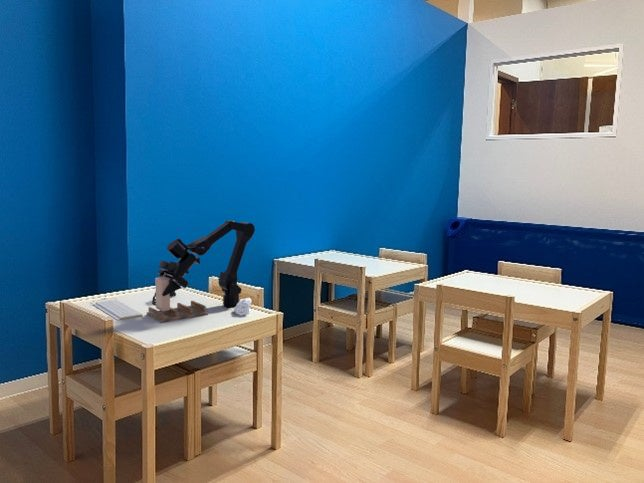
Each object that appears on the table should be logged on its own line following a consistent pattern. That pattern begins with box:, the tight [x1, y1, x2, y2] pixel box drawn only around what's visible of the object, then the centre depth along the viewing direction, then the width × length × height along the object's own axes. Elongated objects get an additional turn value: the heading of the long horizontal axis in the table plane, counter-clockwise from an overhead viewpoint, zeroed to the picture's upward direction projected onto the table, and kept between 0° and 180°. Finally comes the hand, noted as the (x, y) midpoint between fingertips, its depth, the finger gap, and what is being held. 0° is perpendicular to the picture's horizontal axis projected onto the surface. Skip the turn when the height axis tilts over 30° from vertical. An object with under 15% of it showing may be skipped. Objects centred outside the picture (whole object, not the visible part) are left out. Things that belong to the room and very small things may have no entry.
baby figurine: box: [233, 297, 253, 316], centre depth 237 cm, size 9×12×8 cm
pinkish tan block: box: [154, 276, 171, 311], centre depth 226 cm, size 4×6×13 cm, turn 40°
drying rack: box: [146, 300, 209, 324], centre depth 231 cm, size 21×15×4 cm
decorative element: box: [151, 291, 177, 306], centre depth 257 cm, size 22×5×6 cm, turn 174°
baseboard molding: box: [90, 297, 143, 321], centre depth 236 cm, size 31×3×12 cm
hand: (159, 294), depth 225 cm, fingers closed on pinkish tan block, 6 cm apart
